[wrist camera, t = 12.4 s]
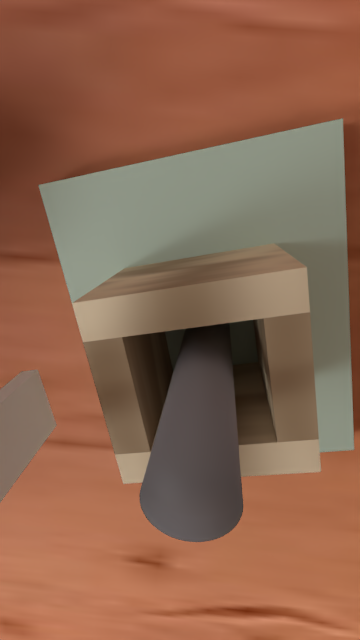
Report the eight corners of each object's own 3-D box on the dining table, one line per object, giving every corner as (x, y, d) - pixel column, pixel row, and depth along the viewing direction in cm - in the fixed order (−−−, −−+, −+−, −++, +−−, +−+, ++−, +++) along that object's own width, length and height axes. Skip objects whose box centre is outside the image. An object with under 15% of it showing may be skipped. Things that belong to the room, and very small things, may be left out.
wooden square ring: (153, 396, 21) (123, 483, 14) (124, 268, 19) (71, 303, 12) (287, 382, 20) (321, 471, 13) (274, 243, 17) (307, 267, 11)
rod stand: (124, 451, 25) (21, 717, 12) (51, 186, 19) (-281, 151, 6) (345, 434, 22) (515, 746, 9) (332, 125, 17) (685, -122, 4)
